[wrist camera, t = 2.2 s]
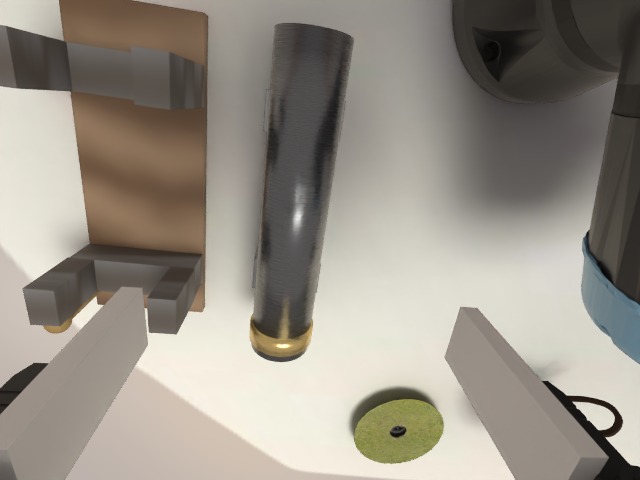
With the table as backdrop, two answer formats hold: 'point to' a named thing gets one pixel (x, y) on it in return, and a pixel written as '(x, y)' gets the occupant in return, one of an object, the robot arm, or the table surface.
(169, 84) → the collar stand
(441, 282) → the table surface
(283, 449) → the table surface
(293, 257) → the tube
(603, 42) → the robot arm
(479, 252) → the table surface
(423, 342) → the table surface
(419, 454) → the mat
